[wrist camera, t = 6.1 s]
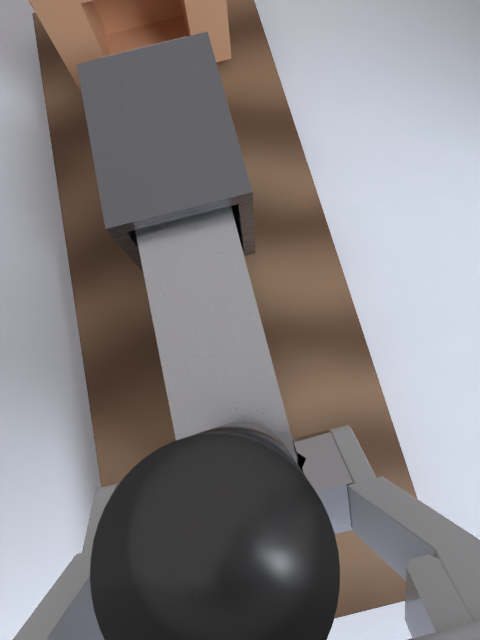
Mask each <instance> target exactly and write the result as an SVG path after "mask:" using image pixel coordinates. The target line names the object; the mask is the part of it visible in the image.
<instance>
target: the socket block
mask: <svg viewBox="0 0 480 640" xmlns="http://www.w3.org/2000/svg"><path fill="white" fill-rule="evenodd" d="M29 2H30V4H31V5H32V7H33V9H34V11H35V12H36V14H37V16H38V18H39V19H40V21H41V23H42V25H43V26H44V28H45V30H46V32H47V33H48V35H49V37H50V39H51V40H52V42H53V44H54V46H55V47H56V49H57V51H58V53H59V54H60V56H61V58H62V60H63V62H64V63H65V65H66V67H67V69H68V70H69V72H70V74H71V76H72V77H73V79H74V81H75V83H76V84H77V86H78V88H79V90H80V91H81V86H80V80H79V74H78V69H77V64H79V63H83V62H87V61H91V60H95V59H99V58H102V57H105V56H109V55H113V54H117V53H121V52H125V51H129V50H133V49H137V48H141V47H145V46H149V45H153V44H157V43H161V42H165V41H169V40H173V39H177V38H181V37H185V36H186V37H187V36H191V35H195V34H199V33H203V32H208V35H209V39H210V42H211V46H212V49H213V53H214V56H215V60H216V62H220V61H224V60H228V59H232V58H231V46H230V35H229V24H228V13H227V1H226V0H29ZM81 93H82V92H81Z"/></svg>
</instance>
